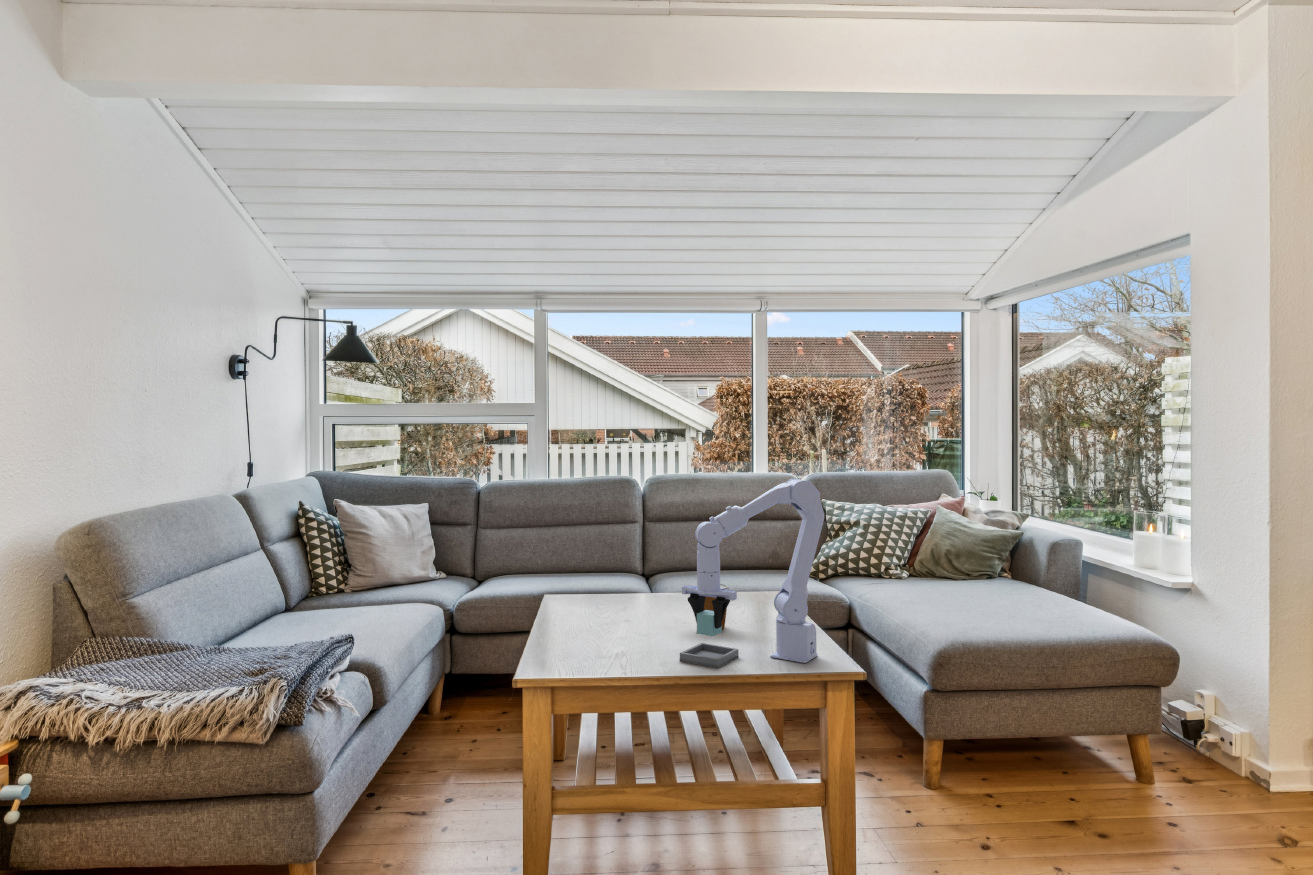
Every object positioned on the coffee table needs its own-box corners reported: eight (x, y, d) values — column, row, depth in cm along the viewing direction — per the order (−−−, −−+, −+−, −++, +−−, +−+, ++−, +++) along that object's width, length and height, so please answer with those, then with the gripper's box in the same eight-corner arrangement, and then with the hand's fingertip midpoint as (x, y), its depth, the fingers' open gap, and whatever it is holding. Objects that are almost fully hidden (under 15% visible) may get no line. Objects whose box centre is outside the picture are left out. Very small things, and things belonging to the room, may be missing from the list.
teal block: (721, 632, 178) (721, 612, 178) (712, 636, 174) (712, 615, 174) (706, 629, 180) (705, 609, 180) (696, 633, 177) (696, 613, 177)
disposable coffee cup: (728, 632, 202) (728, 589, 202) (694, 631, 203) (694, 588, 204) (731, 624, 211) (731, 583, 211) (699, 622, 213) (699, 582, 213)
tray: (738, 657, 178) (738, 648, 178) (717, 668, 170) (717, 659, 170) (701, 650, 184) (701, 642, 184) (679, 661, 176) (679, 652, 176)
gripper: (675, 570, 178) (675, 625, 178) (726, 576, 170) (727, 633, 170) (689, 566, 184) (690, 619, 184) (740, 571, 176) (741, 627, 176)
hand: (709, 626), depth 177 cm, fingers closed on teal block, 4 cm apart
